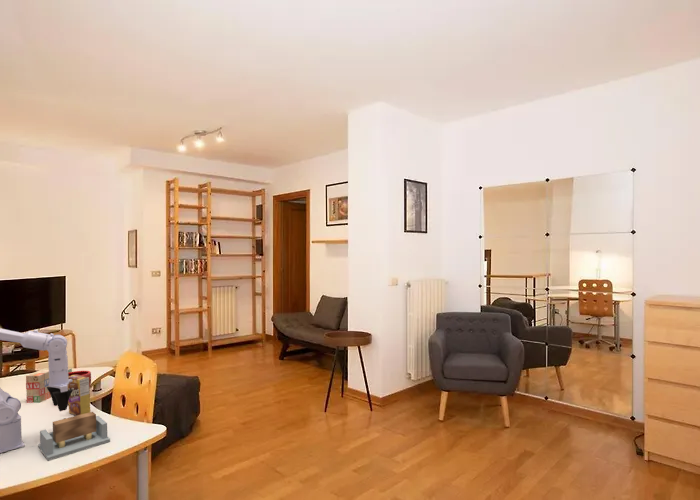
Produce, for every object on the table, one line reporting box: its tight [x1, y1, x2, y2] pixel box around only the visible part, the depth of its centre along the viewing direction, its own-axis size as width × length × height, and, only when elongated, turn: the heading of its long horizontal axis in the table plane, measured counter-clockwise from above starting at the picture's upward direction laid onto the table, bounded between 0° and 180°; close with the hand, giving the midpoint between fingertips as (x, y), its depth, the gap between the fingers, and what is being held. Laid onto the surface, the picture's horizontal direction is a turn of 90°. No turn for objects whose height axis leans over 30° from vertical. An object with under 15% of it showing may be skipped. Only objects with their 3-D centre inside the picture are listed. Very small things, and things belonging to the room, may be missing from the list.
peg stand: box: [37, 415, 111, 462], centre depth 149 cm, size 18×14×6 cm
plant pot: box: [68, 370, 92, 405], centre depth 193 cm, size 13×13×12 cm
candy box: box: [68, 374, 91, 416], centre depth 177 cm, size 9×4×15 cm, turn 60°
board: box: [52, 411, 97, 443], centre depth 149 cm, size 12×4×6 cm, turn 136°
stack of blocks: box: [25, 367, 73, 404], centre depth 202 cm, size 21×6×12 cm, turn 178°
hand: (60, 407), depth 156 cm, fingers open, 7 cm apart
